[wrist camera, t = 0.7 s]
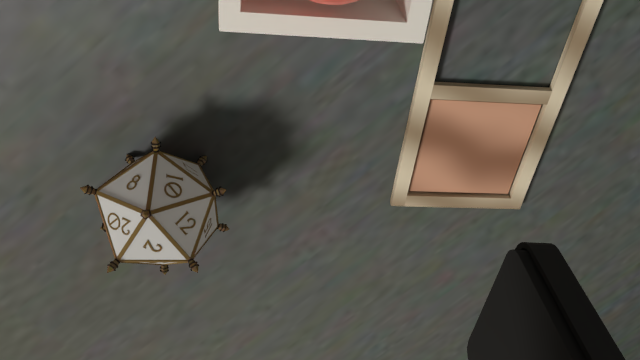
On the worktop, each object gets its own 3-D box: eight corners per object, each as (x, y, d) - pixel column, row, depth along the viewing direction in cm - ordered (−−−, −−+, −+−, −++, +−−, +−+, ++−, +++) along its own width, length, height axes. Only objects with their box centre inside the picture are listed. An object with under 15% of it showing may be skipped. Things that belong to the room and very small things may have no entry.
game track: (495, -283, 25) (499, -284, 25) (699, -256, 26) (706, -256, 26) (390, 201, 42) (391, 205, 41) (517, 204, 43) (519, 209, 42)
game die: (161, 160, 42) (67, 264, 37) (142, 85, 35) (23, 201, 30) (261, 216, 41) (177, 333, 36) (263, 149, 34) (158, 283, 28)
